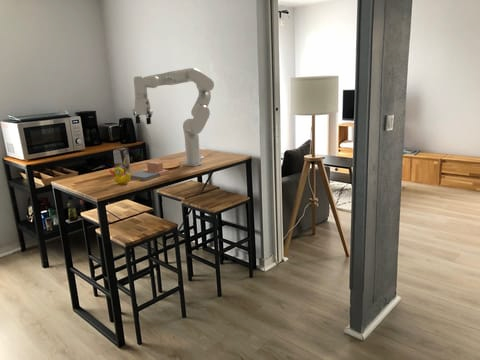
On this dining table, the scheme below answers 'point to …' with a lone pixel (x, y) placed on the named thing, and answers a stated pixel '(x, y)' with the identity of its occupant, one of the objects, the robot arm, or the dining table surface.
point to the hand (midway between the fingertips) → (143, 123)
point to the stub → (156, 168)
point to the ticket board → (143, 175)
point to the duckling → (118, 177)
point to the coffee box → (122, 159)
